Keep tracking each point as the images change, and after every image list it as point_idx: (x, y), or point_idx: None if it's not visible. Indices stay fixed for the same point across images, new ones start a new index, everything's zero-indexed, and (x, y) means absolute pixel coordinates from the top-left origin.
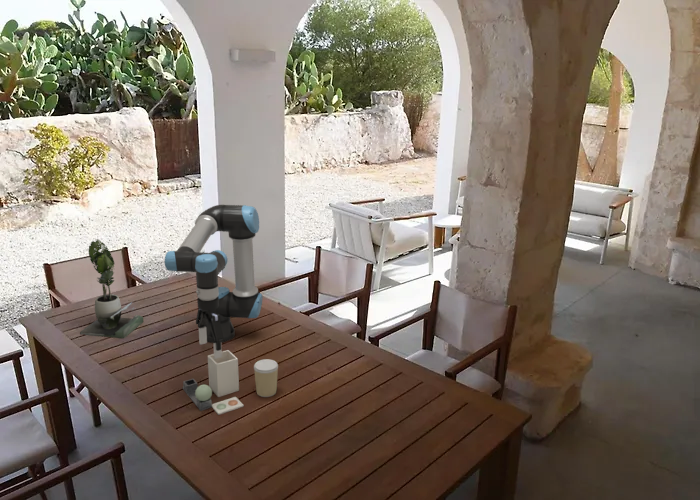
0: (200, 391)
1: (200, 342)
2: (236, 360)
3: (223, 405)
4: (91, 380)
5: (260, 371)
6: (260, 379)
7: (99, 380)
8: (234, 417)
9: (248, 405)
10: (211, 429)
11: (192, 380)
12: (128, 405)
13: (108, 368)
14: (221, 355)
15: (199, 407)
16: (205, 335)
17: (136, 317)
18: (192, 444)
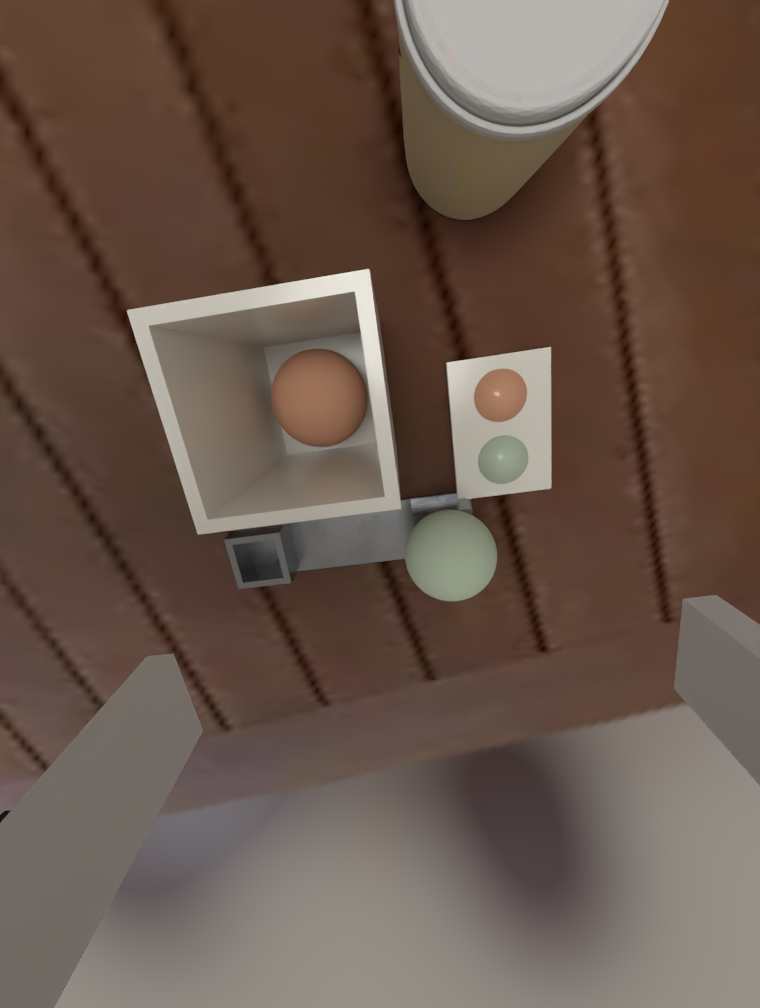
0: (480, 589)
1: (187, 756)
2: (371, 290)
3: (501, 449)
4: None
5: (608, 81)
6: (565, 139)
7: None
8: (611, 422)
9: (551, 317)
10: (635, 541)
11: (234, 543)
12: (307, 754)
13: (10, 773)
14: (734, 613)
15: None
16: (87, 786)
17: None
18: None
